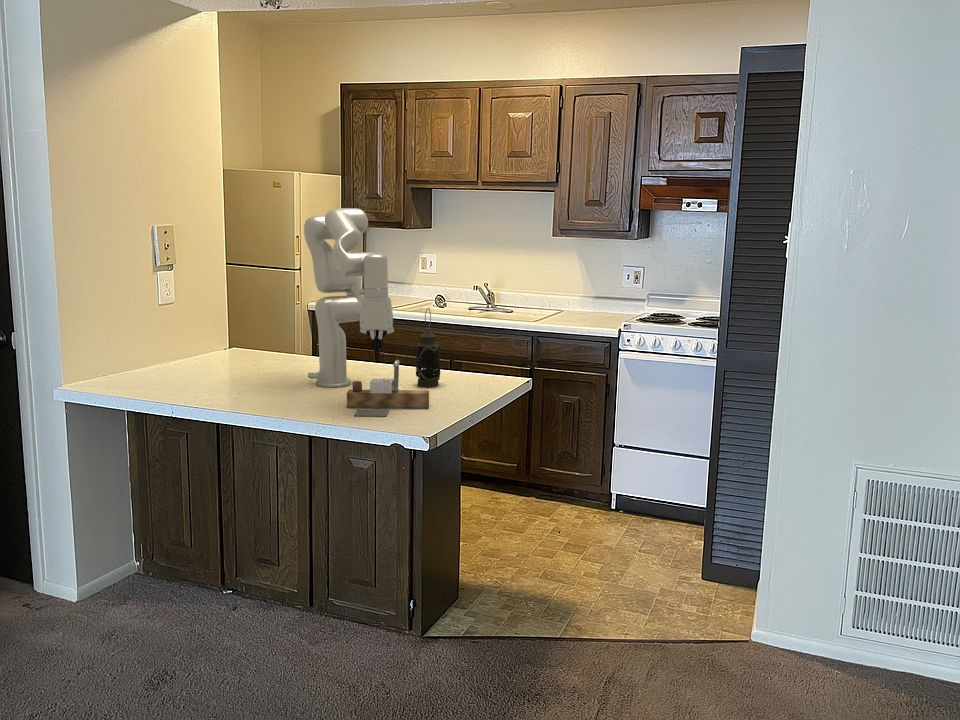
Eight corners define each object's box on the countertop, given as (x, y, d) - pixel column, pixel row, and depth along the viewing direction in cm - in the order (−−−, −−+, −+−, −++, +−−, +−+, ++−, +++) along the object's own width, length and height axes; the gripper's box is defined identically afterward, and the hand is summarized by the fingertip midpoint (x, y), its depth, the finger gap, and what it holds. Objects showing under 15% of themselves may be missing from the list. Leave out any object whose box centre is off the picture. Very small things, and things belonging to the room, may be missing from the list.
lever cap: (370, 393, 272) (369, 381, 271) (372, 389, 277) (372, 377, 276) (391, 393, 271) (391, 381, 271) (393, 389, 276) (393, 378, 276)
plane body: (347, 407, 273) (346, 383, 272) (349, 404, 277) (349, 380, 276) (428, 408, 272) (427, 384, 271) (429, 405, 277) (429, 381, 275)
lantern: (436, 389, 300) (436, 310, 295) (411, 387, 302) (411, 309, 296) (443, 383, 309) (443, 306, 304) (419, 381, 311) (418, 305, 306)
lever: (392, 391, 272) (393, 362, 270) (394, 388, 276) (395, 359, 274) (397, 392, 272) (398, 362, 270) (399, 388, 276) (400, 359, 274)
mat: (353, 416, 262) (353, 415, 262) (357, 410, 269) (357, 409, 269) (386, 417, 262) (386, 415, 262) (389, 411, 269) (389, 410, 269)
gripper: (350, 294, 264) (352, 353, 268) (398, 294, 264) (399, 353, 267) (354, 292, 272) (356, 349, 275) (401, 292, 271) (402, 349, 275)
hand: (377, 351), depth 271 cm, fingers closed
